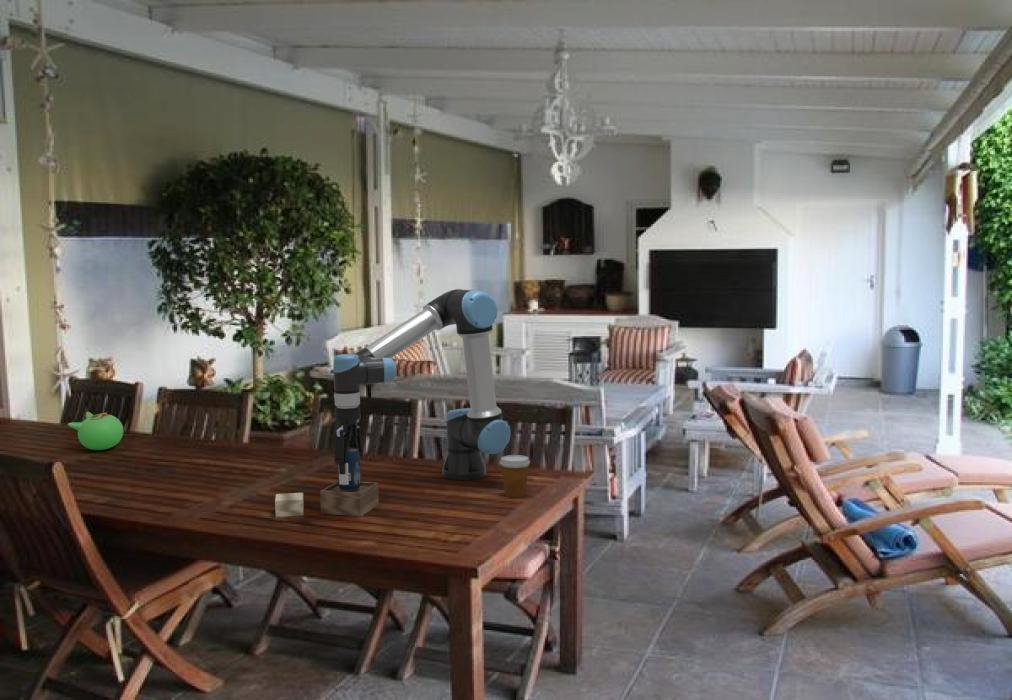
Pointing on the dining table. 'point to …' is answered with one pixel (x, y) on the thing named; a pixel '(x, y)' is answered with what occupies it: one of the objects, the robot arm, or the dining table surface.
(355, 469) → the soda can
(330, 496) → the wooden crate
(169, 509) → the dining table surface
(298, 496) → the beech block
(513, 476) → the disposable coffee cup
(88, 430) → the toy bird
